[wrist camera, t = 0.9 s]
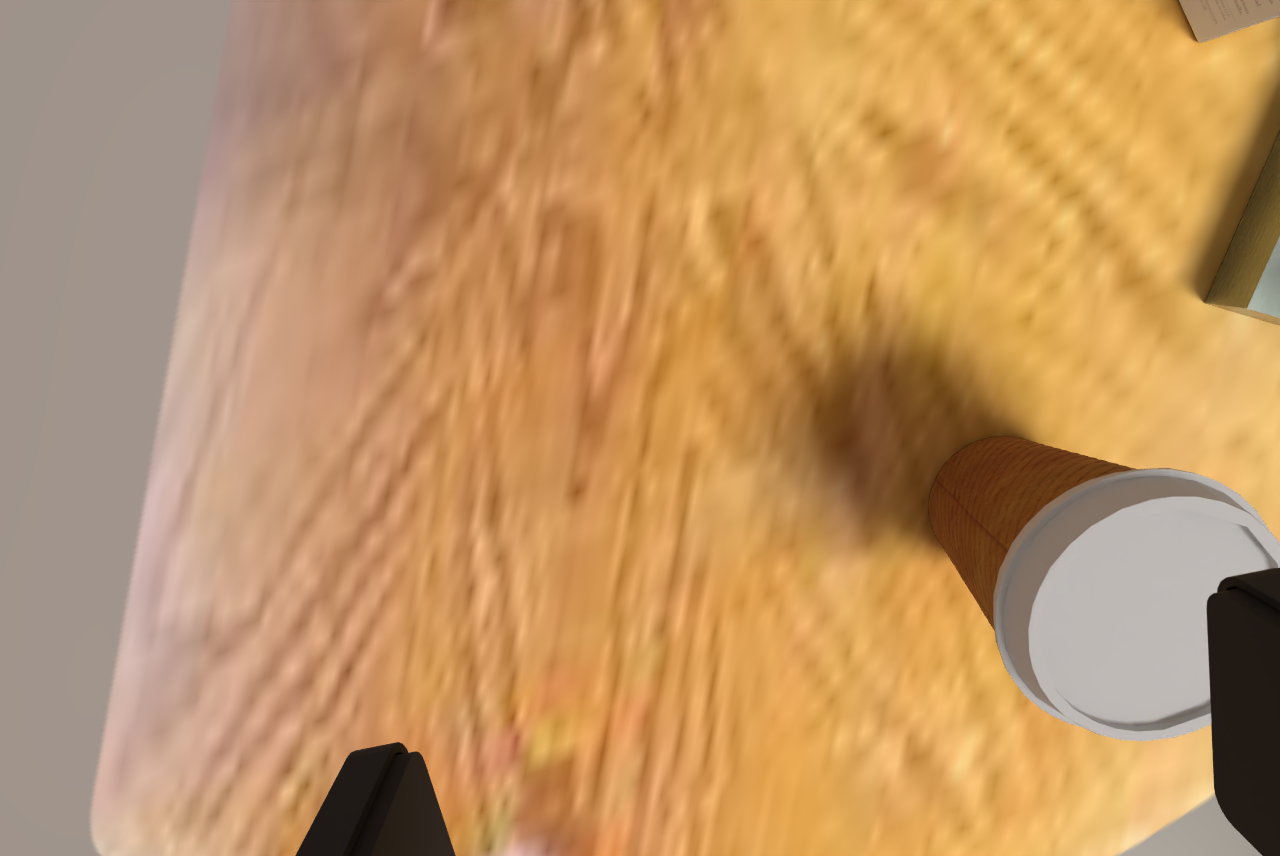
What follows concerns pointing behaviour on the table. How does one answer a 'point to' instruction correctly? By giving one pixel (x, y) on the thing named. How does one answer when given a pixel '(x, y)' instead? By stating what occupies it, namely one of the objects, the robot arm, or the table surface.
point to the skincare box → (1226, 15)
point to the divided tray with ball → (1254, 253)
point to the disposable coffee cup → (1097, 578)
